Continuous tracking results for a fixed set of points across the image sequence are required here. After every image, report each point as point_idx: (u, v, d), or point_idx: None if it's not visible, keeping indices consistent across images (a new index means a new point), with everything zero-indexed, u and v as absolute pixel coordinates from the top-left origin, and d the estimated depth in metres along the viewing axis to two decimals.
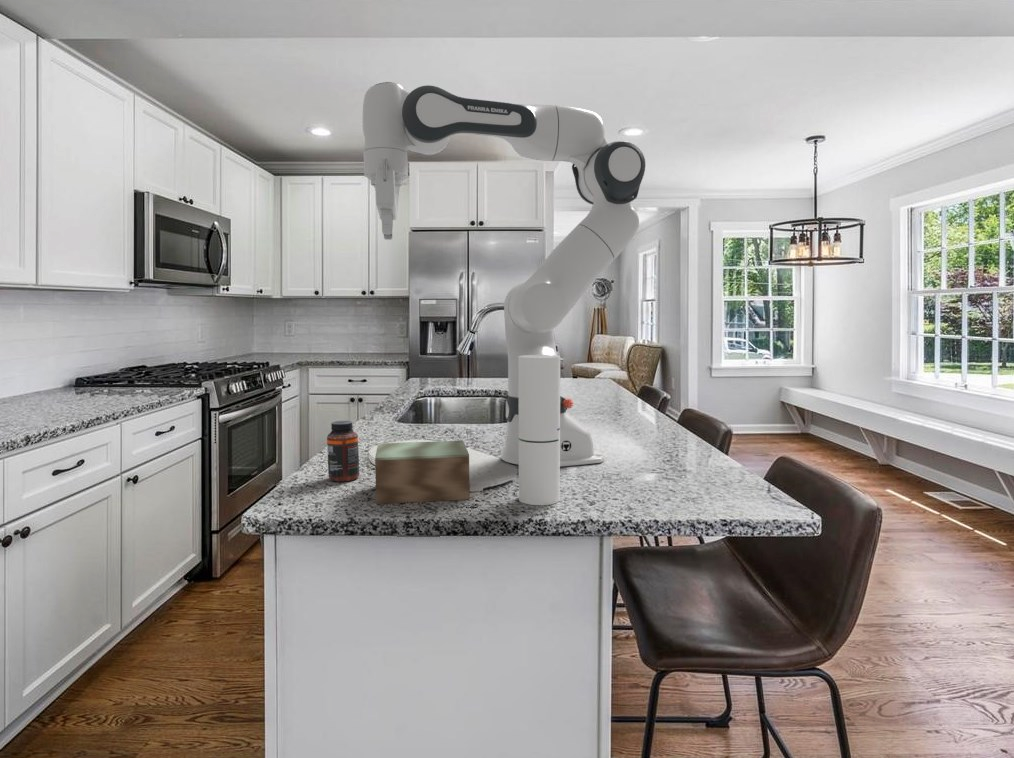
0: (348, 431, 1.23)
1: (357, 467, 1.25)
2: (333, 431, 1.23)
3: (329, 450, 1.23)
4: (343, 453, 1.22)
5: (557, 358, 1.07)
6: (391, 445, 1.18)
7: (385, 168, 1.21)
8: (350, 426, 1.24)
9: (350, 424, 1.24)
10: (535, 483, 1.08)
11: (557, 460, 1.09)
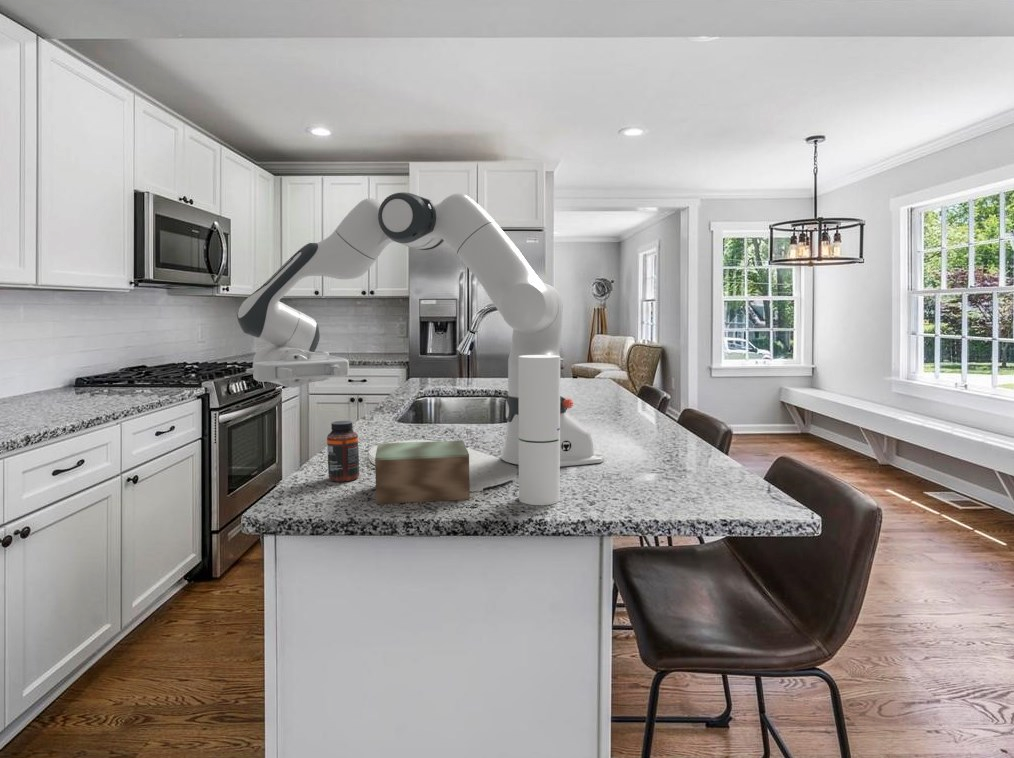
0: (348, 431, 1.23)
1: (357, 467, 1.25)
2: (333, 431, 1.23)
3: (329, 450, 1.23)
4: (343, 453, 1.22)
5: (557, 358, 1.07)
6: (391, 445, 1.18)
7: (246, 370, 1.35)
8: (350, 426, 1.24)
9: (350, 424, 1.24)
10: (535, 483, 1.08)
11: (557, 460, 1.09)
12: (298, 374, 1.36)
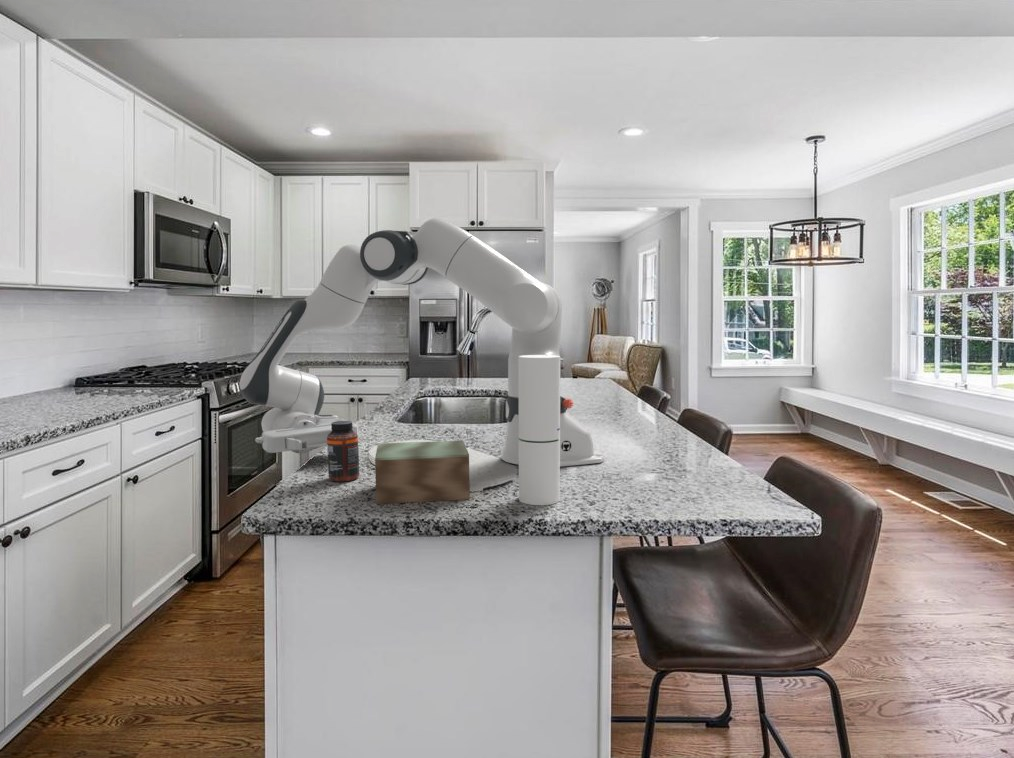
0: (348, 431, 1.23)
1: (357, 467, 1.25)
2: (333, 431, 1.23)
3: (329, 450, 1.23)
4: (343, 453, 1.22)
5: (557, 358, 1.07)
6: (391, 445, 1.18)
7: (256, 439, 1.35)
8: (350, 426, 1.24)
9: (350, 424, 1.24)
10: (535, 483, 1.08)
11: (557, 460, 1.09)
12: (308, 443, 1.35)
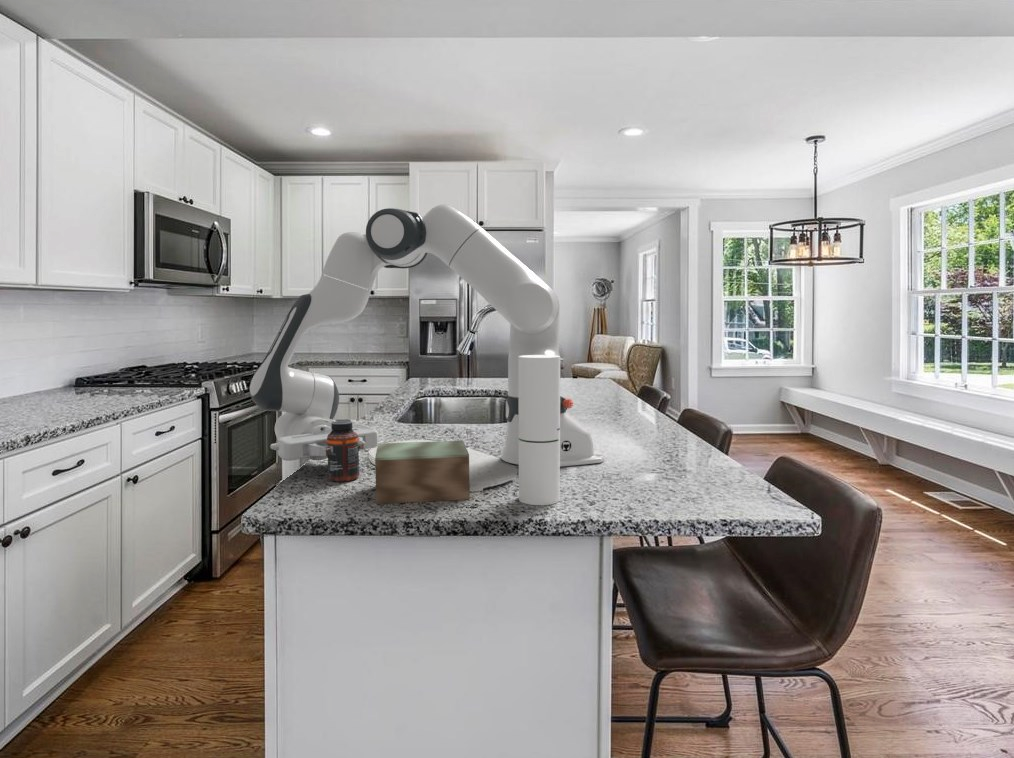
0: (348, 431, 1.23)
1: (357, 467, 1.25)
2: (333, 431, 1.23)
3: None
4: (343, 453, 1.22)
5: (557, 358, 1.07)
6: (391, 445, 1.18)
7: (271, 446, 1.27)
8: (350, 426, 1.24)
9: (350, 424, 1.24)
10: (535, 483, 1.08)
11: (557, 460, 1.09)
12: None
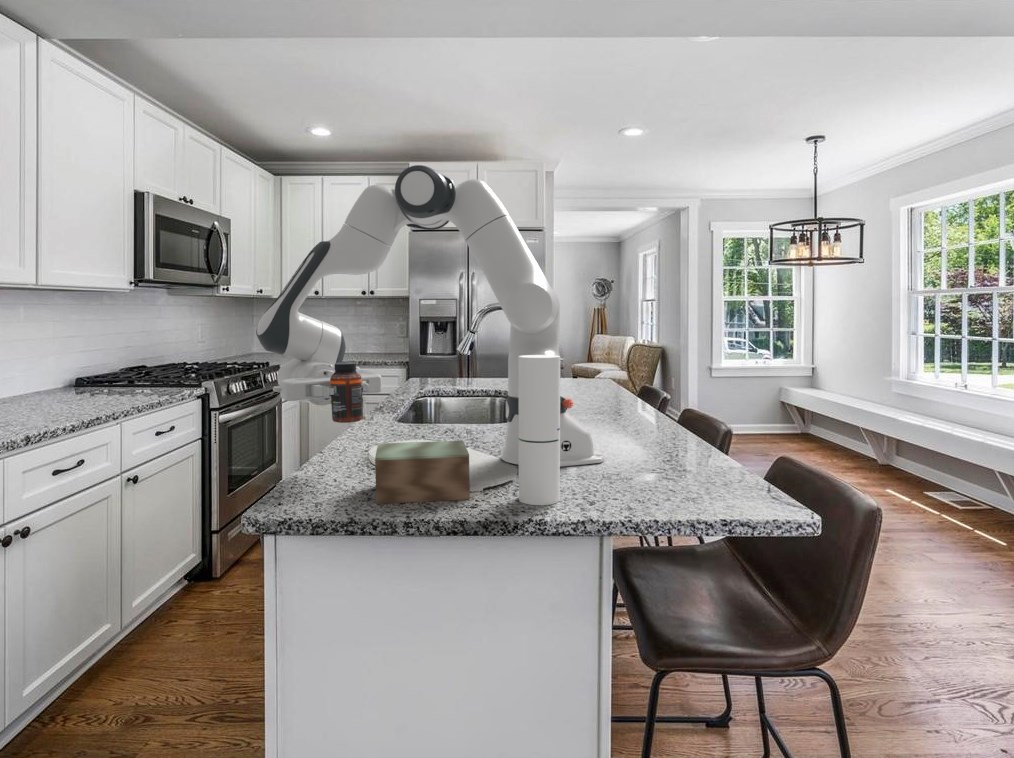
0: (351, 372, 1.22)
1: (361, 408, 1.23)
2: (336, 371, 1.22)
3: None
4: (347, 393, 1.21)
5: (557, 358, 1.07)
6: (391, 445, 1.18)
7: (273, 388, 1.25)
8: (354, 366, 1.22)
9: (354, 364, 1.22)
10: (535, 483, 1.08)
11: (557, 460, 1.09)
12: None
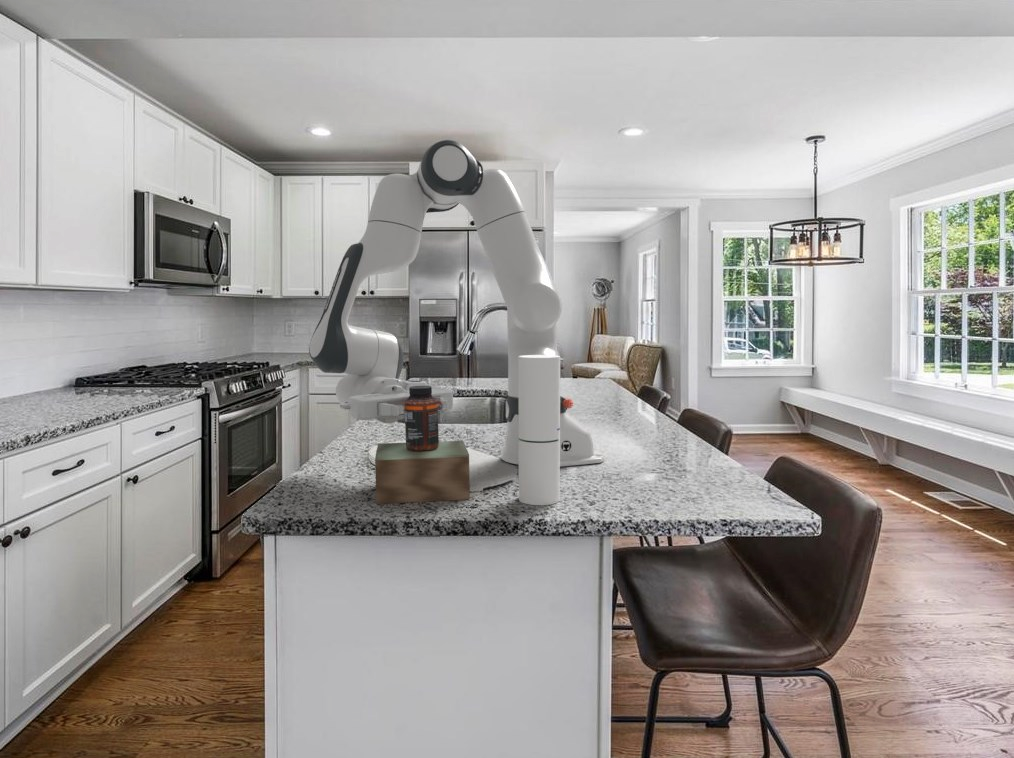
0: (428, 396, 1.13)
1: (437, 435, 1.15)
2: (412, 396, 1.13)
3: (408, 417, 1.13)
4: (423, 420, 1.12)
5: (557, 358, 1.07)
6: (391, 445, 1.18)
7: (341, 405, 1.16)
8: (430, 390, 1.14)
9: (430, 388, 1.14)
10: (535, 483, 1.08)
11: (557, 460, 1.09)
12: None
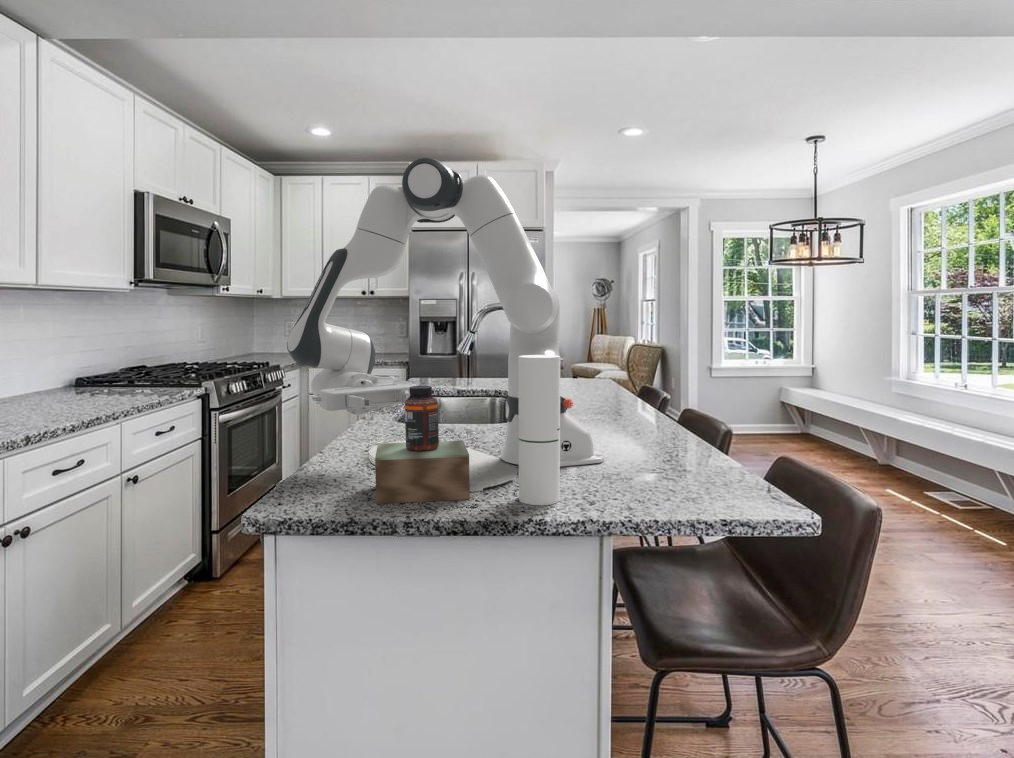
0: (428, 396, 1.13)
1: (437, 436, 1.15)
2: (412, 396, 1.13)
3: (408, 417, 1.13)
4: (423, 420, 1.12)
5: (557, 358, 1.07)
6: (391, 445, 1.18)
7: (313, 398, 1.26)
8: (430, 390, 1.14)
9: (430, 388, 1.14)
10: (535, 483, 1.08)
11: (557, 460, 1.09)
12: None
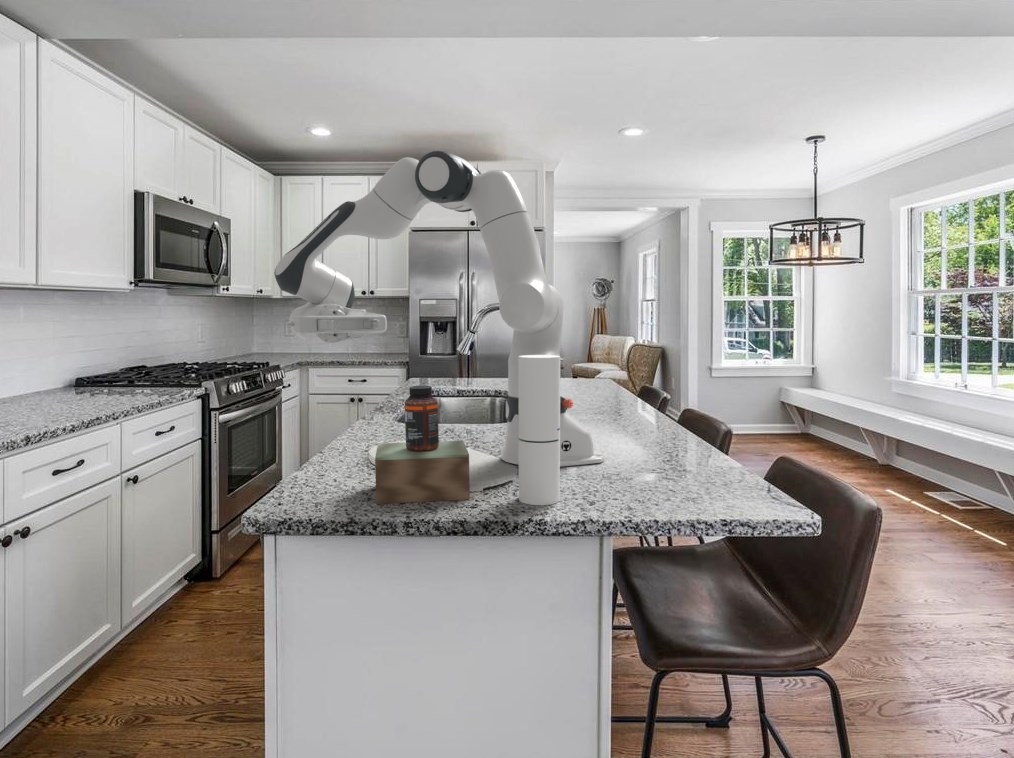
0: (428, 396, 1.13)
1: (437, 436, 1.15)
2: (412, 396, 1.13)
3: (408, 417, 1.13)
4: (423, 420, 1.12)
5: (557, 358, 1.07)
6: (391, 445, 1.18)
7: (287, 323, 1.36)
8: (430, 390, 1.14)
9: (430, 388, 1.14)
10: (535, 483, 1.08)
11: (557, 460, 1.09)
12: (338, 327, 1.37)
